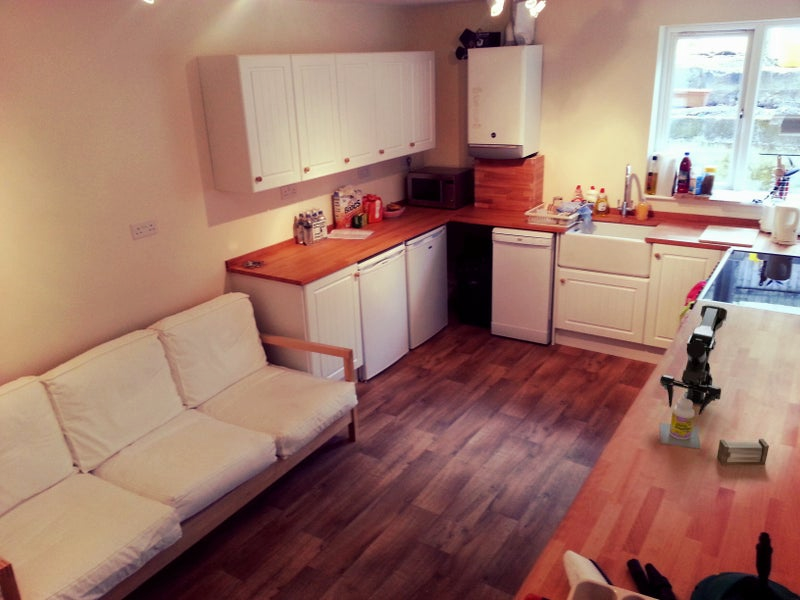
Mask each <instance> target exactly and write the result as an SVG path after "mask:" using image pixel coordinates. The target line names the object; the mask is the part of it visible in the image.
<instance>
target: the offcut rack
mask: <svg viewBox="0 0 800 600" xmlns="http://www.w3.org/2000/svg"><path fill="white" fill-rule="evenodd" d="M769 449H770V445H769V444H768V443H767V442H766V440H764V438H758V441H757V440H755V441H753V440H752V441H750V440H749V441H747V440H746V441H743V440H738V441H737V440H735V441H731V440H730V441H727V440H725V439H719V444H718V449H717V455H716V459H717V461H718V462H719V464H720V466H721V467H722V466H725V467H726V466H765V465H766V462H767V457H768V453H769Z"/></svg>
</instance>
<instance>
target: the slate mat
mask: <svg viewBox="0 0 800 600" xmlns="http://www.w3.org/2000/svg"><path fill="white" fill-rule="evenodd" d="M659 425H660V427H659V428H660V429H659V431H660V434H659V435H660V438H659V439H660V444H662V445H663V444H664V445H668V446H677V447H682V448H688V449H696V450H701V440H700V433H699V428H698V427H692V433H691V437H690V438H689V439H686V440H680V439H676V438H674V437H673V436H672V435H671V434H670V425H671V423H666V422H659Z"/></svg>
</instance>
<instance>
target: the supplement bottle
mask: <svg viewBox="0 0 800 600" xmlns="http://www.w3.org/2000/svg"><path fill="white" fill-rule="evenodd" d="M693 407H694V403H693V402H692V401H691V400H689V399H686V398H685V397H683V398H682V397H681V398H678V399H677V402H676V405H675V406H673V408H672V412H671V413H672V414H671V420H670V424H671V425H670V434H671V435H672V436H673V437H674V438H676V439H680V440H686V439H689V438H690V437H691V433H692V427H693V426H694V421H695V413H696V412H695V409H694V408H693Z"/></svg>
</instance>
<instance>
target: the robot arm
mask: <svg viewBox="0 0 800 600" xmlns="http://www.w3.org/2000/svg"><path fill="white" fill-rule="evenodd" d="M727 315H728V309H725V308H724V307H722V306H720V305H715V304H710V303H708V304H706V305H702V307H701V311H700V317H701V322H700V324H699V326H698V327H696V328H694V330H693V332H692V333H691V334H690V335H689V338H688V340H687V343H686V354H687V362H686V365H685V369H683V371H682V375H681V381H679V380H676V379H675V377H674V376H671V375H667V374H663V375H661V377H660V379H659V380H660V381H659V383H660V386H661V387H663V389H664V390H667V394H668V395H667V396H668V406H669V409H670V408H672V404H673V398H674V390H675V389H674V387H678V388H680V389H681V388H683V389H687V390H686V391H685V392H684V398H686V399H689V400H691V401H692V402H693V404H699V405H700V408H699V411H698V416H700V415H701V414H702V413H703V412H704V411H705V409H706V407H708V405H709V404H711V402H712V401H713V402H716V400H721V397H722V388H721V387H720V386H716V385H713V380H714V379H713V376H712V373H711V367H710V366H711V365H710V362H709V360H710V356H711V352H712V351H714V349H715V347H716V344H717V341H716V339H715V336H716V332H717V331H718V330H719V329H721V328H722V327H723V324H724V322H725V321H726V320H727V317H728V316H727Z"/></svg>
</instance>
